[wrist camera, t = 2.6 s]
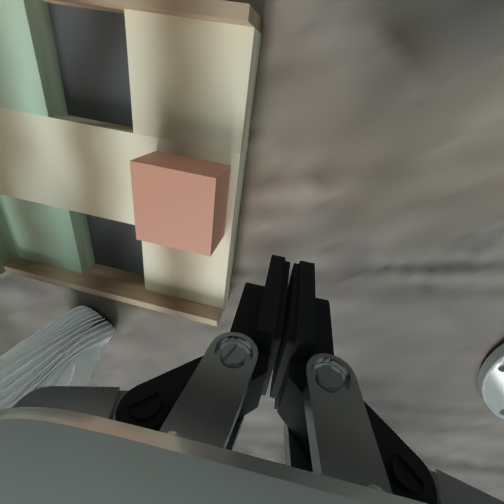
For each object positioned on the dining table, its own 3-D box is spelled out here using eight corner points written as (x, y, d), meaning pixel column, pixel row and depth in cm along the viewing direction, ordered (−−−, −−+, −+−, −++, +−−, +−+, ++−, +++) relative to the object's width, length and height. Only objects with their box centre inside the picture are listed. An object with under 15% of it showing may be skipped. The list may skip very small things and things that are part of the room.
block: (231, 165, 18) (216, 178, 15) (224, 235, 20) (210, 256, 18) (156, 150, 18) (129, 160, 16) (158, 220, 21) (136, 239, 18)
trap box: (263, 20, 15) (247, 0, 12) (228, 299, 26) (214, 331, 22) (-53, -24, 17) (-143, -52, 14) (33, 250, 28) (-7, 273, 24)
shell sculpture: (74, 278, 29) (-209, 495, 13) (139, 327, 30) (-44, 570, 15) (48, 315, 33) (-192, 515, 17) (107, 357, 34) (-63, 572, 19)
